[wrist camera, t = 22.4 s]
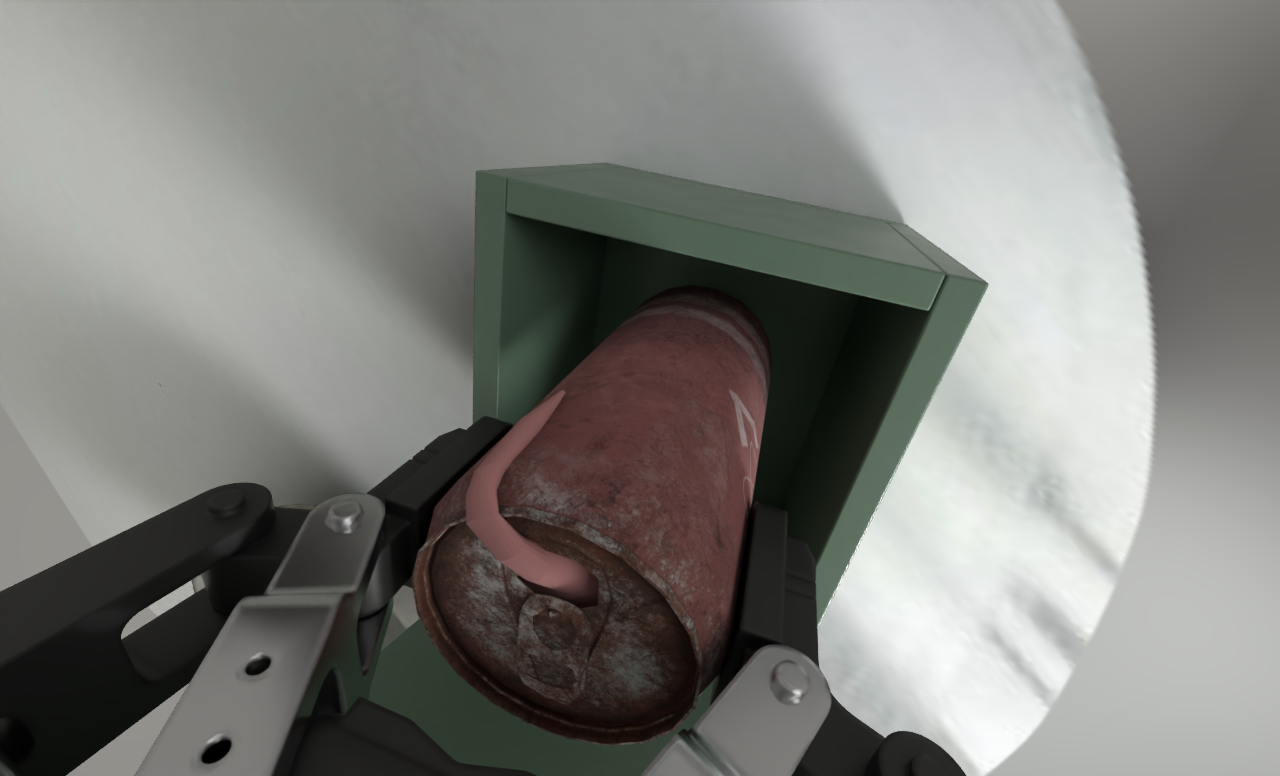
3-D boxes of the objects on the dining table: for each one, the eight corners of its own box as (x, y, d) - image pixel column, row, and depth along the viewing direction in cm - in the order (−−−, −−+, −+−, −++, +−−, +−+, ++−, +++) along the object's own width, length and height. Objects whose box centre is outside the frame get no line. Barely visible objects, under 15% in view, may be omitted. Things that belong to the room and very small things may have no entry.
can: (727, 247, 19) (583, 432, 7) (797, 392, 20) (787, 760, 8) (597, 315, 21) (321, 536, 9) (668, 438, 23) (512, 768, 11)
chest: (604, 162, 24) (475, 170, 15) (908, 224, 22) (990, 283, 12) (569, 451, 32) (470, 578, 23) (789, 521, 30) (783, 698, 20)
